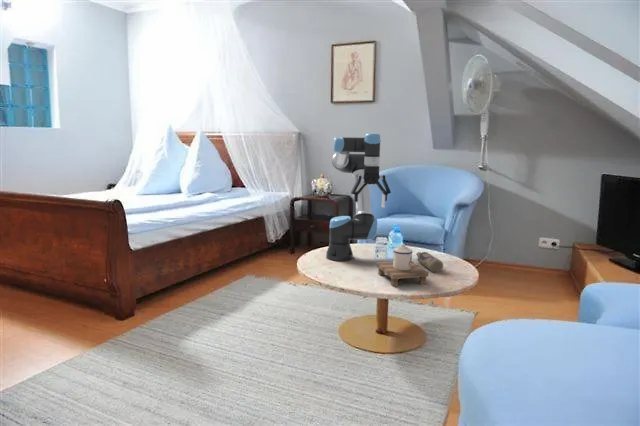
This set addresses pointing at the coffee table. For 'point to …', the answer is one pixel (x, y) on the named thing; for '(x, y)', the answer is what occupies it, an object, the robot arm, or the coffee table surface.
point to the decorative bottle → (430, 261)
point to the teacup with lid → (402, 258)
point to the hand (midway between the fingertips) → (370, 207)
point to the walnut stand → (402, 272)
